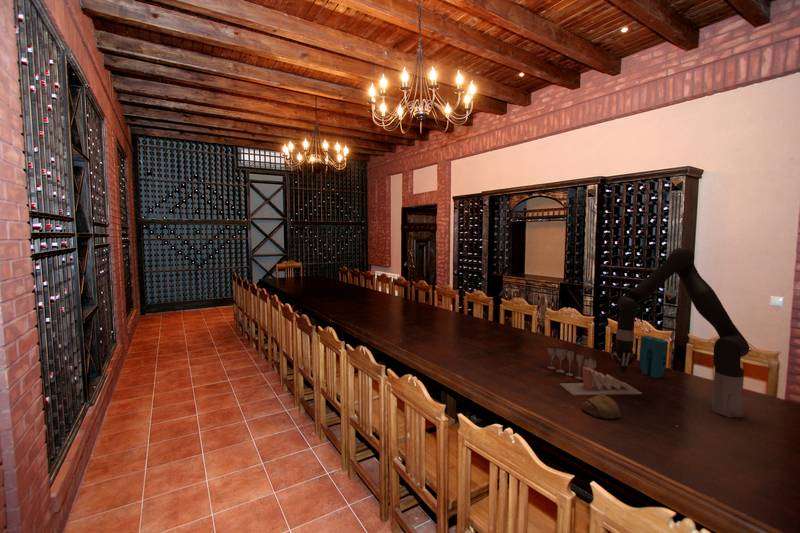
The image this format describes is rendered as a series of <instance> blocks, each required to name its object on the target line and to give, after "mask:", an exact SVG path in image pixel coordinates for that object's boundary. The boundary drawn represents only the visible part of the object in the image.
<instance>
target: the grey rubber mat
mask: <svg viewBox="0 0 800 533" xmlns="http://www.w3.org/2000/svg"><path fill="white" fill-rule="evenodd" d="M622 382H623V383H625V384H626V385H628V386H629V387H630V388H629V390H628V389H626V388H624V387H623V386H621V385H619V384H617V383H616V384H617V385H618V386H620V389H619V390H618V389H616V388H615V387H613V386H612V385H610V384H609V383H608V382H607V384H608V385H609V386H610V387H611V389H609V390H608V389H606V388H605V387H603V386H602V385H601V384H600V385H601V388H602V389H601V390H598V389H596V388H595V387H594V386H593V385H592V390H588V389H587V388H585V387H584V386H583V382H572V383H571V382H570V383H569V382H568V383H567V382H566V383H561V382H560V383H559V386H561V387H562V389H564V390H566V391H567V392H568V393H569V394H570V395H571V396H577V397H578V396H579V397H581V396H597V395H599V394H606V395H607V396H617V395H618V396H619V395H623V396H625V395H627V396H628V395H629V396H630V395H642V394H643V392H641V391H640V390H638V389H636V388H634V387H633V386H631V385H629V384H628V383H626V382H624V381H622ZM614 383H615V382H614Z"/></svg>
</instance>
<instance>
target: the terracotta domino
mask: <svg viewBox="0 0 800 533" xmlns="http://www.w3.org/2000/svg"><path fill="white" fill-rule="evenodd" d="M581 367H582V369H581V370H582V378H583V379H582V383H583V386H584V387H585V388H587V389H588V390H592V375H591V370H590V369H589V368H587V367H585V366H581Z"/></svg>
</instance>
